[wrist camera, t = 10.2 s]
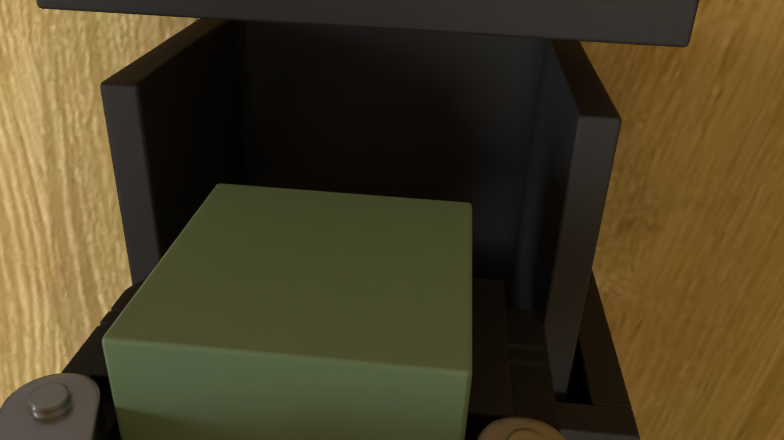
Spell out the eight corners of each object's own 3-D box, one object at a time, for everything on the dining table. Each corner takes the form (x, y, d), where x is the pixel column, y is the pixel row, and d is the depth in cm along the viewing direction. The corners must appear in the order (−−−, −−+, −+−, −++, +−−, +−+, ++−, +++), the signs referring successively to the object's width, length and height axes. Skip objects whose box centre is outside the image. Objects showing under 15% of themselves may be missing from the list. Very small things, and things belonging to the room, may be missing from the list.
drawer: (165, -295, 17) (-42, -388, 10) (653, -280, 16) (788, -370, 9) (222, 313, 26) (130, 487, 19) (545, 341, 25) (573, 535, 18)
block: (234, 379, 15) (146, 577, 11) (216, 181, 13) (98, 338, 9) (452, 400, 15) (444, 613, 11) (472, 201, 12) (472, 374, 8)
